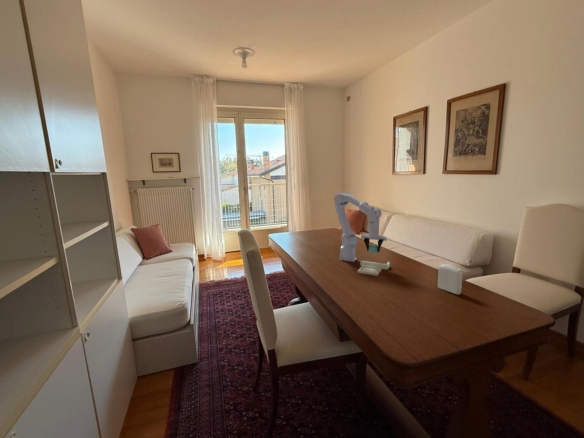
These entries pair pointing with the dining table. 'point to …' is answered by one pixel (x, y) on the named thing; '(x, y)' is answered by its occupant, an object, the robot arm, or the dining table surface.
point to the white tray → (369, 270)
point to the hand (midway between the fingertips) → (373, 251)
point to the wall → (375, 264)
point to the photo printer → (450, 278)
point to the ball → (373, 249)
